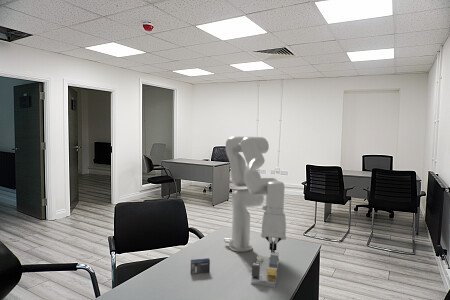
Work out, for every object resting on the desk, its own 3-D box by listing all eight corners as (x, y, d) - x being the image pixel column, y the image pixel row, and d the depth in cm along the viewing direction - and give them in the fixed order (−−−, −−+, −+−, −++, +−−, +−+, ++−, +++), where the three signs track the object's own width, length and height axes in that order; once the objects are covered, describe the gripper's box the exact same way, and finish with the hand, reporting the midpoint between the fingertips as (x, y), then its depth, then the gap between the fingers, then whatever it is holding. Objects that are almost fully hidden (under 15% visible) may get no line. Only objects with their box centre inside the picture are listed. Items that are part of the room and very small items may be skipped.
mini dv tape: (191, 274, 129) (191, 261, 129) (190, 273, 131) (190, 259, 130) (209, 272, 132) (209, 259, 131) (208, 271, 133) (209, 258, 133)
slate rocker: (268, 265, 135) (268, 263, 135) (270, 253, 144) (270, 251, 144) (278, 266, 134) (278, 264, 134) (279, 255, 143) (279, 252, 143)
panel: (250, 283, 123) (251, 275, 123) (257, 259, 146) (258, 252, 146) (275, 287, 121) (275, 278, 121) (278, 262, 144) (279, 254, 144)
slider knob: (251, 276, 124) (252, 265, 124) (252, 272, 127) (253, 262, 127) (258, 277, 124) (259, 266, 123) (259, 273, 127) (260, 263, 126)
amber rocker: (265, 274, 123) (265, 271, 123) (267, 269, 132) (267, 266, 132) (276, 275, 122) (276, 272, 122) (277, 271, 131) (277, 268, 131)
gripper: (256, 210, 126) (254, 253, 127) (292, 213, 123) (290, 257, 125) (257, 206, 133) (256, 246, 135) (292, 209, 131) (290, 250, 132)
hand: (272, 251), depth 130 cm, fingers closed
